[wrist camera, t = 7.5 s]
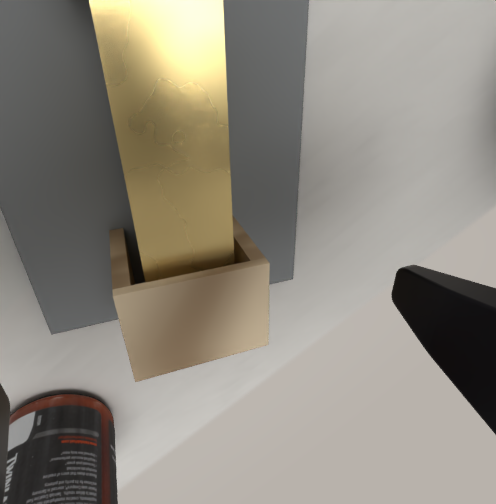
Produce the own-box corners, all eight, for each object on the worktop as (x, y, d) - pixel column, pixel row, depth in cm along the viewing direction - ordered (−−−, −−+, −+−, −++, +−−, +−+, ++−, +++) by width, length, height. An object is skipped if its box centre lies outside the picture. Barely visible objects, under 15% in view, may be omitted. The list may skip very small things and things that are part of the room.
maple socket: (229, 210, 18) (269, 262, 13) (232, 280, 20) (268, 344, 16) (108, 230, 16) (112, 296, 12) (126, 304, 18) (135, 382, 14)
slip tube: (185, -125, 11) (216, -183, 8) (216, 275, 18) (237, 317, 15) (60, -139, 10) (46, -210, 7) (146, 289, 17) (156, 338, 14)
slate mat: (322, -362, 10) (330, -375, 10) (290, 275, 22) (293, 278, 21) (-304, -570, 7) (-324, -603, 6) (52, 329, 18) (51, 334, 18)
